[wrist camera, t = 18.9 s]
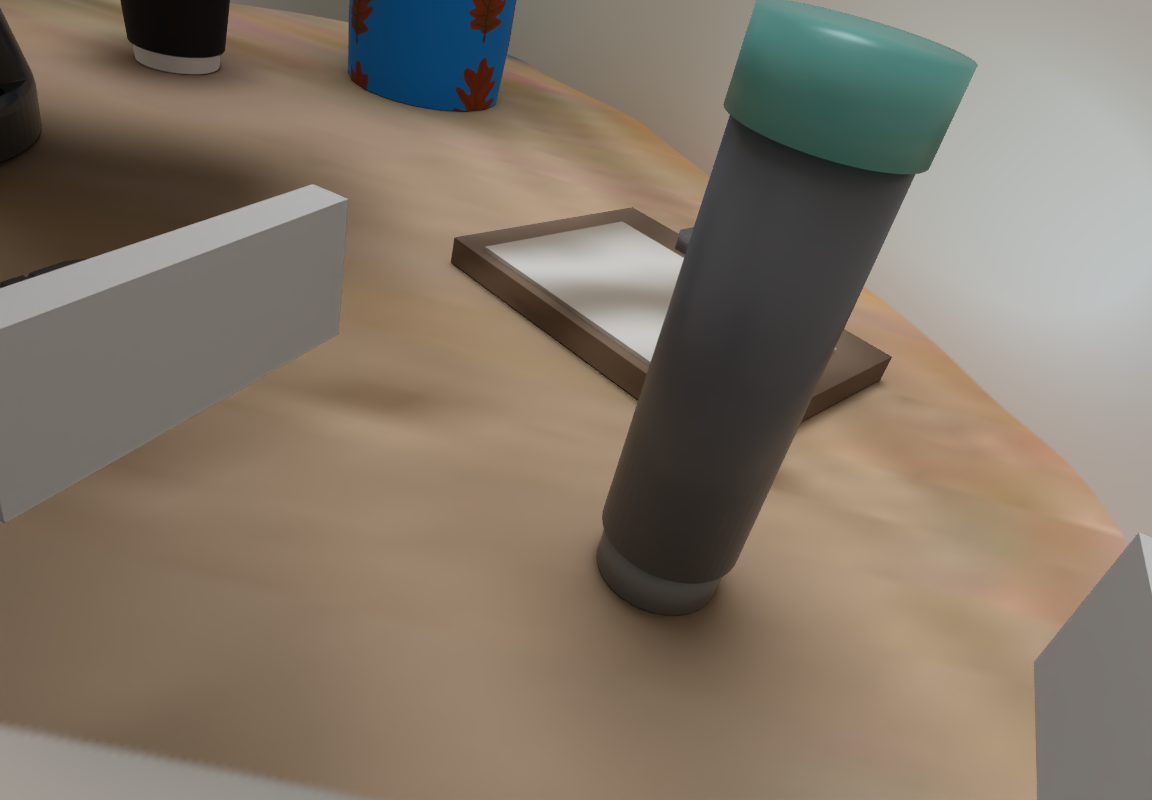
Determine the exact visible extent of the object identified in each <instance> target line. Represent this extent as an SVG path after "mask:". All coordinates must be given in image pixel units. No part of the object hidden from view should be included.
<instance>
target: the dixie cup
mask: <svg viewBox="0 0 1152 800" xmlns="http://www.w3.org/2000/svg"><path fill="white" fill-rule="evenodd" d="M229 4H230V0H121V6H122V11H123V17H124V22H125V27H126V33H127V38H128V40H129V41H130V42H131V43H132V44H133V50H134V55H135V59H136V60H137V61H138V62H140V63H141V64H143V65H145V66H148V67H151V68H154V69H157V70H162V71H166V72H172V73H180V74H207V73H212V72H215V71H217V70H218V69H219V67H220V58H221V54H222V53H223V52H224V51H225V44H226V34H227V24H228V14H229Z"/></svg>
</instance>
